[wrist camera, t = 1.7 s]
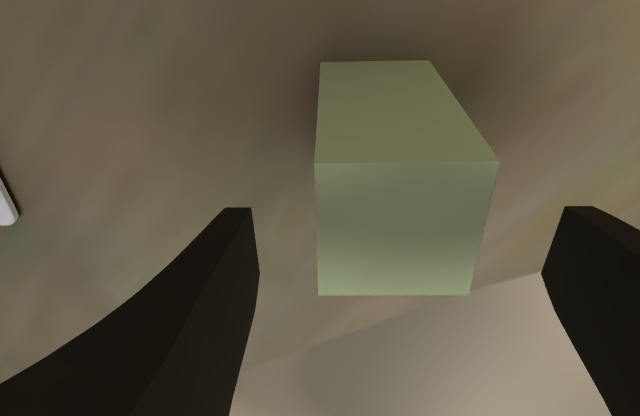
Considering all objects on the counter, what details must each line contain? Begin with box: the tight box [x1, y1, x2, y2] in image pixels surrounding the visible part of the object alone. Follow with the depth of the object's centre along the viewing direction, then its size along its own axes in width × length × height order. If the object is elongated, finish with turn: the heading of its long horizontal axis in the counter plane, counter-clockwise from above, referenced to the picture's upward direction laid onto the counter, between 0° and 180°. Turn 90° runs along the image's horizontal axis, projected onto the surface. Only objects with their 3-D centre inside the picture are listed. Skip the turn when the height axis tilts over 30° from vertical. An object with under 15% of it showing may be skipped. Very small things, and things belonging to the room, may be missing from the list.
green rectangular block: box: [314, 60, 500, 295], centre depth 14 cm, size 4×4×8 cm
